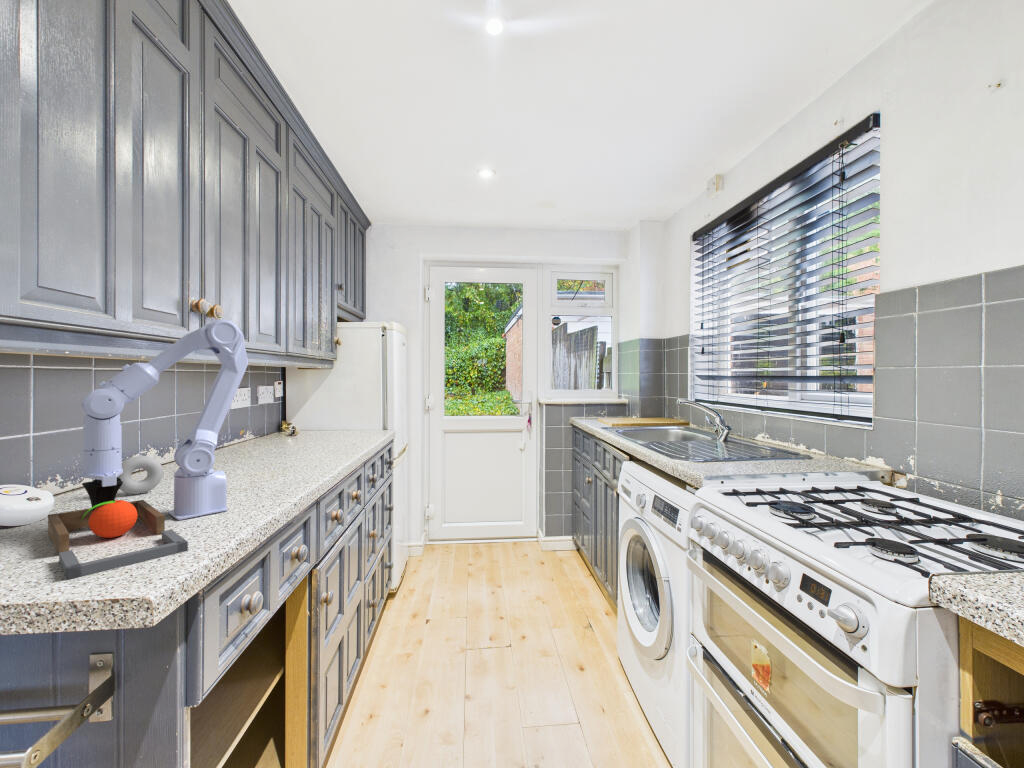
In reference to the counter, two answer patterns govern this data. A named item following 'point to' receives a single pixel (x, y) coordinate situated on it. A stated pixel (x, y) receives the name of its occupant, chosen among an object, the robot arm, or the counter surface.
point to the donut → (145, 485)
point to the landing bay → (122, 557)
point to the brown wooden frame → (73, 520)
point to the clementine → (112, 518)
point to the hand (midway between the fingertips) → (102, 516)
